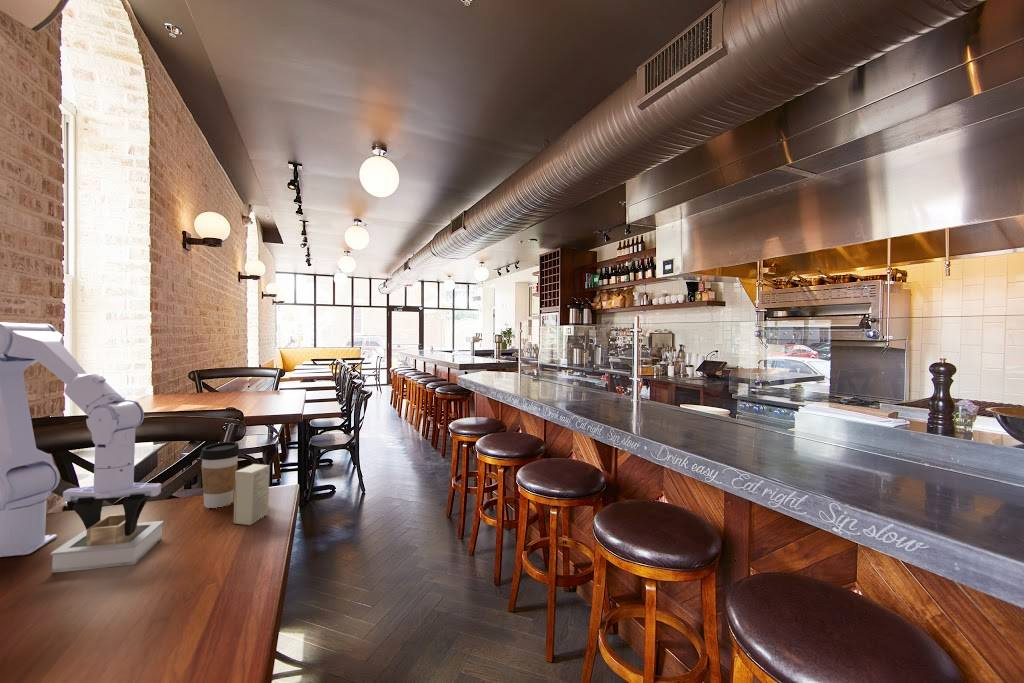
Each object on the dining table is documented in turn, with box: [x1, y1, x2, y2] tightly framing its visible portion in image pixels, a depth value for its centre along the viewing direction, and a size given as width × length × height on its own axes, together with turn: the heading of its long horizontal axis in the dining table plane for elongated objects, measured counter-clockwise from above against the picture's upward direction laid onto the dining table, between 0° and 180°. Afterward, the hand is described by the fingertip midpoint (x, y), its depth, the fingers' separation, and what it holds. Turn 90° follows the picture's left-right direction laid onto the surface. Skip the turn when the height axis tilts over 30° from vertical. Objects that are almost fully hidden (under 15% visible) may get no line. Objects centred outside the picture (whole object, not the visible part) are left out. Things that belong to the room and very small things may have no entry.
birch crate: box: [86, 513, 137, 546], centre depth 84 cm, size 5×6×4 cm
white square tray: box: [50, 520, 165, 574], centre depth 84 cm, size 12×11×4 cm
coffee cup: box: [199, 441, 241, 509], centre depth 111 cm, size 8×8×15 cm
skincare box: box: [233, 463, 271, 526], centre depth 102 cm, size 6×4×12 cm
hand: (112, 535), depth 84 cm, fingers closed on birch crate, 5 cm apart
